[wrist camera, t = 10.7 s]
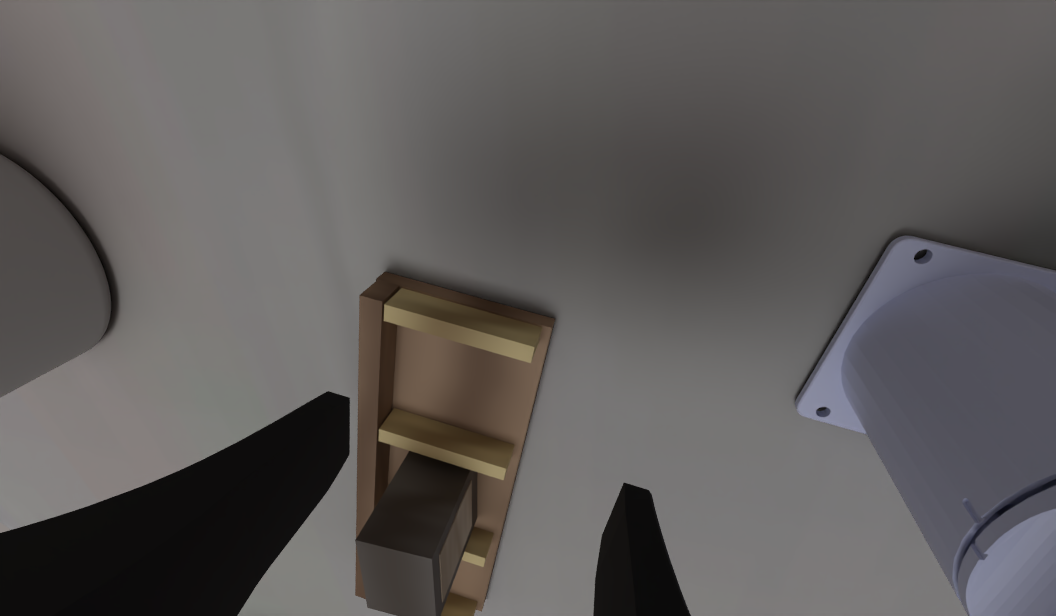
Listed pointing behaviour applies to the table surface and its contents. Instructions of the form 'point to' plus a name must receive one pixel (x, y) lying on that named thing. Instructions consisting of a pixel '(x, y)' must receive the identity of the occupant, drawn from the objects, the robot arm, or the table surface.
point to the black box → (417, 537)
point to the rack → (446, 404)
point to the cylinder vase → (44, 282)
